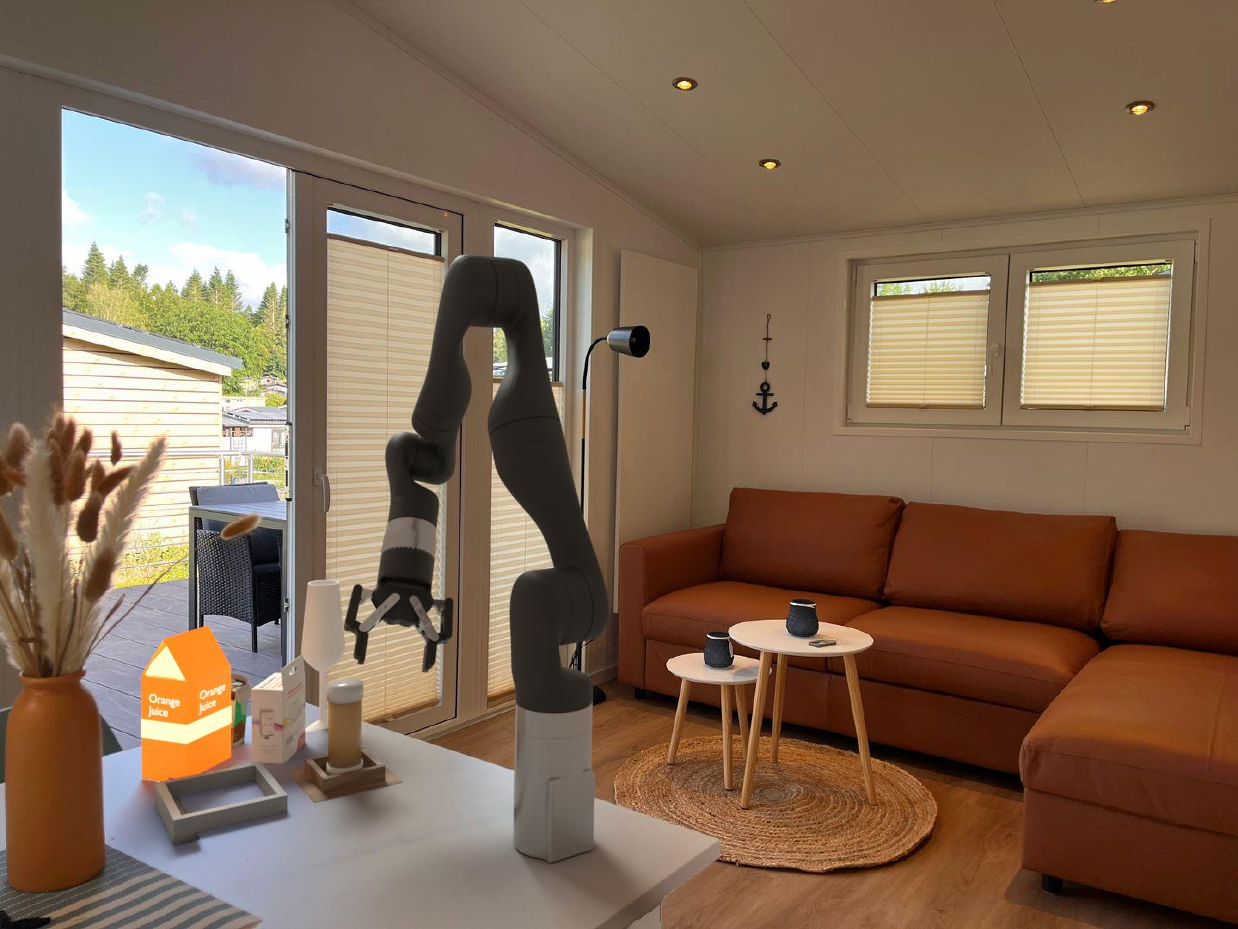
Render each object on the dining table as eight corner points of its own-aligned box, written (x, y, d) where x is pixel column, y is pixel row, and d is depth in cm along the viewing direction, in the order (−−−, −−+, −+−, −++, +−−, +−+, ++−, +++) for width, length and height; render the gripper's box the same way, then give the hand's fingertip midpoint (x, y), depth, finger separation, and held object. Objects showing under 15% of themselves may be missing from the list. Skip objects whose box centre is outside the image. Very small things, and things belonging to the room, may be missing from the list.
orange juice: (232, 763, 130) (232, 627, 129) (187, 787, 121) (186, 641, 120) (187, 757, 132) (186, 622, 131) (140, 780, 123) (139, 636, 122)
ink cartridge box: (274, 747, 136) (274, 652, 135) (306, 748, 136) (306, 652, 135) (249, 769, 128) (249, 668, 127) (284, 770, 128) (284, 668, 127)
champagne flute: (293, 737, 140) (294, 586, 139) (310, 723, 147) (311, 578, 146) (336, 739, 140) (336, 587, 139) (350, 724, 147) (351, 579, 146)
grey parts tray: (287, 818, 113) (287, 795, 112) (173, 845, 105) (173, 820, 105) (260, 782, 123) (260, 761, 123) (155, 805, 116) (155, 782, 115)
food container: (271, 742, 138) (271, 678, 138) (239, 756, 132) (239, 689, 132) (212, 729, 143) (212, 668, 143) (179, 742, 138) (179, 678, 137)
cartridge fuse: (367, 778, 123) (368, 685, 122) (333, 786, 120) (333, 691, 119) (355, 767, 127) (356, 676, 126) (321, 774, 124) (322, 682, 123)
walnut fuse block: (403, 789, 122) (403, 767, 122) (314, 810, 115) (314, 787, 115) (371, 760, 132) (371, 740, 132) (287, 778, 125) (287, 757, 125)
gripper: (361, 536, 122) (342, 651, 114) (463, 553, 127) (453, 664, 118) (353, 559, 128) (335, 669, 119) (451, 574, 133) (440, 681, 124)
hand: (393, 666), depth 119 cm, fingers open, 8 cm apart
